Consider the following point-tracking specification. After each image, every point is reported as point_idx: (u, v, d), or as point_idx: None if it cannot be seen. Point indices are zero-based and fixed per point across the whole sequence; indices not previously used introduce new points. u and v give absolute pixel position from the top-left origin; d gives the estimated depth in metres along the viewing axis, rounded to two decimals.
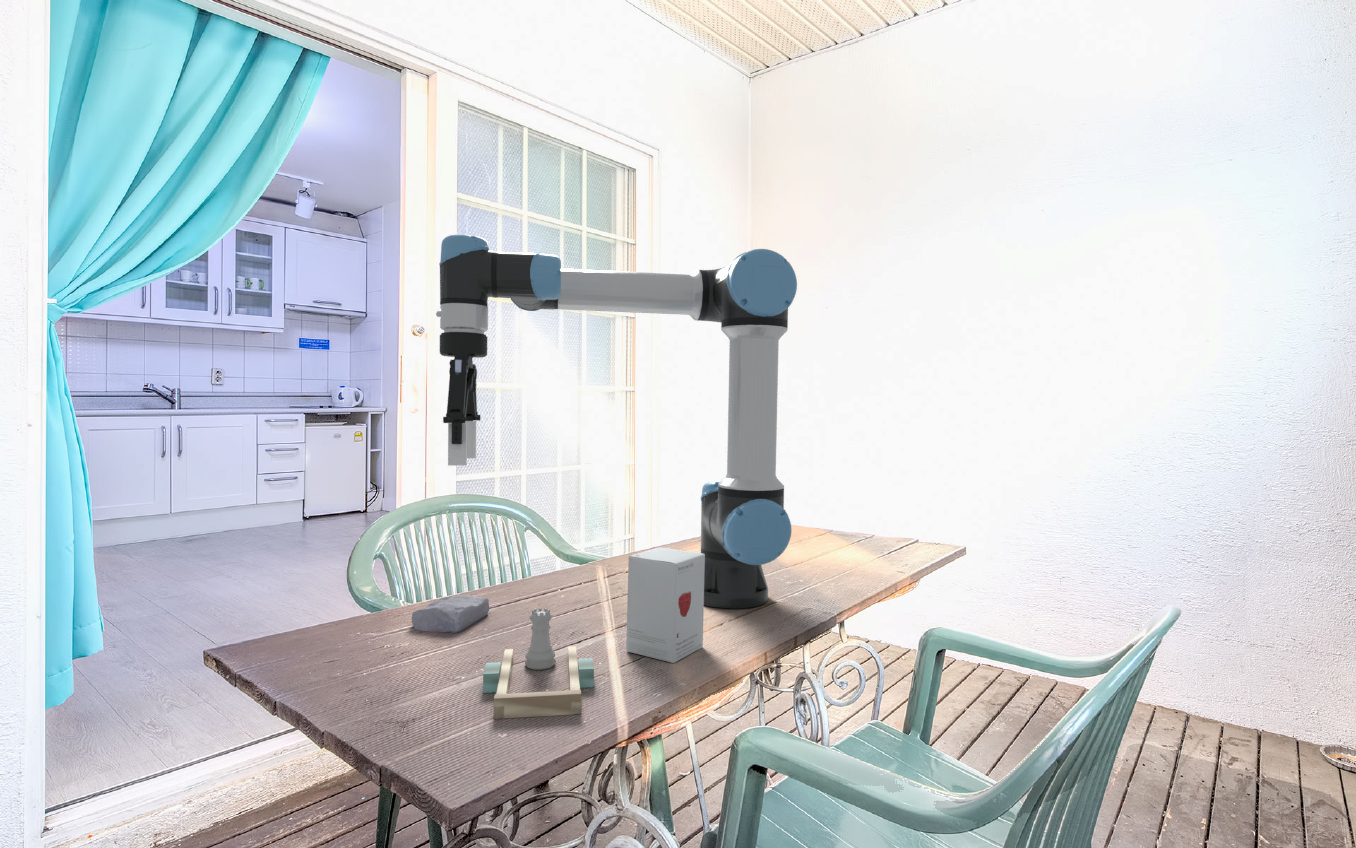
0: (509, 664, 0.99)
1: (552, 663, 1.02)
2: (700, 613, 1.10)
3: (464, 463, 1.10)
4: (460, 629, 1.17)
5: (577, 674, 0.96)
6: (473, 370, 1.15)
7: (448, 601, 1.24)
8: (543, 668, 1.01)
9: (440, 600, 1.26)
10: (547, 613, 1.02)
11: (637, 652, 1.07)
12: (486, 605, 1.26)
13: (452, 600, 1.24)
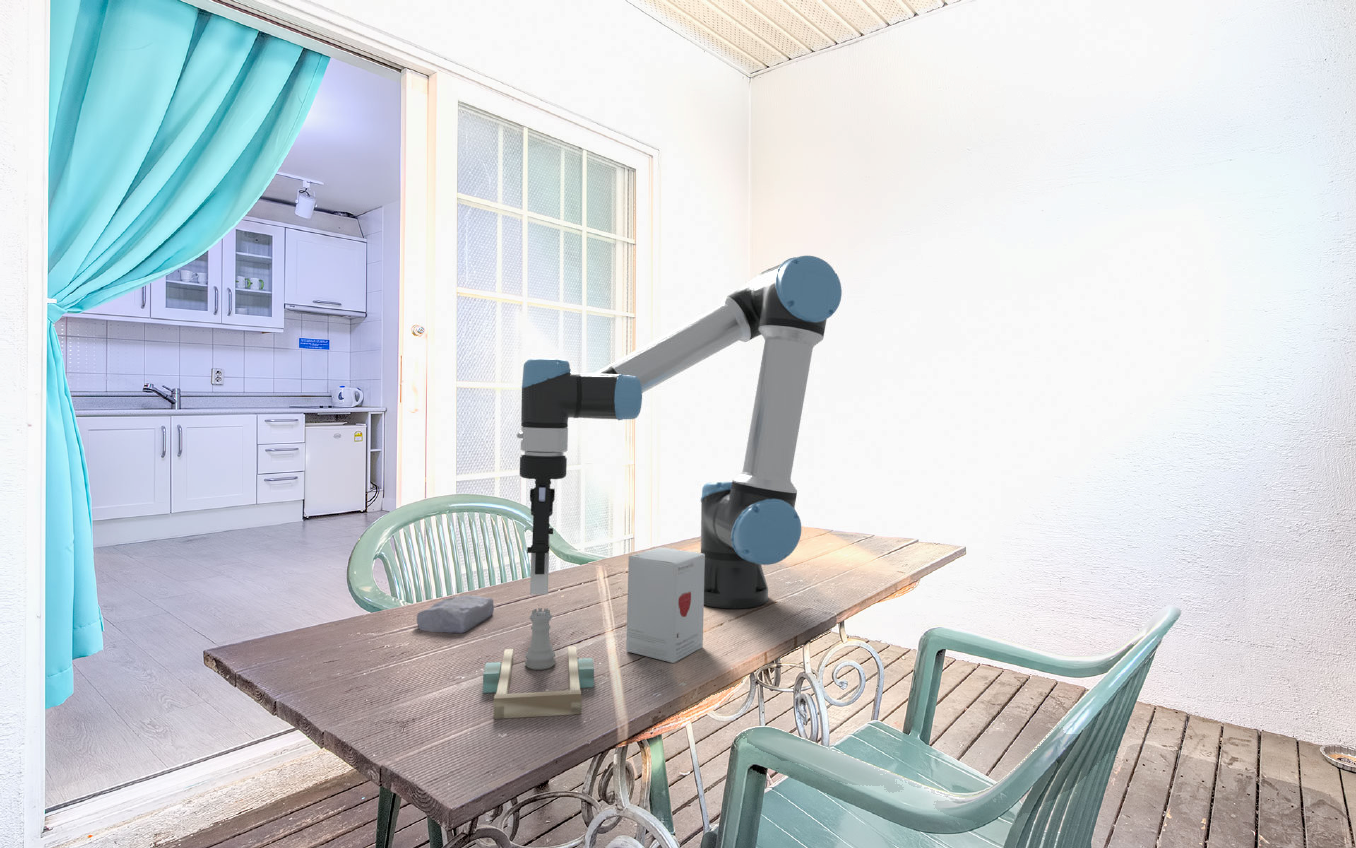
0: (509, 664, 0.99)
1: (552, 663, 1.02)
2: (700, 613, 1.10)
3: (546, 592, 1.09)
4: (465, 630, 1.17)
5: (577, 674, 0.96)
6: (553, 493, 1.14)
7: (453, 601, 1.24)
8: (543, 668, 1.01)
9: (445, 600, 1.26)
10: (547, 613, 1.02)
11: (637, 652, 1.07)
12: (491, 606, 1.25)
13: (457, 601, 1.24)
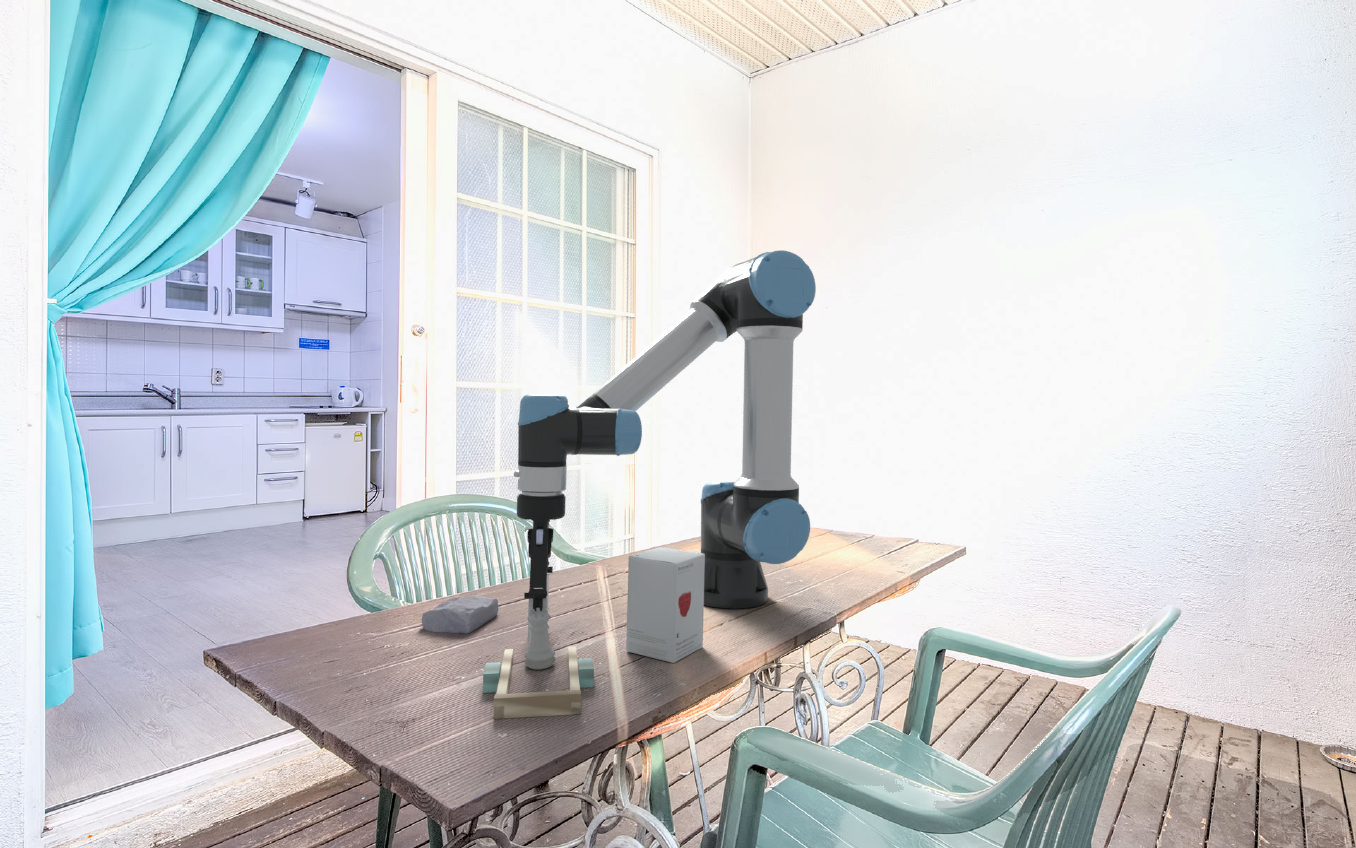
0: (509, 664, 0.99)
1: (552, 662, 1.02)
2: (700, 613, 1.10)
3: None
4: (471, 630, 1.17)
5: (577, 674, 0.96)
6: (552, 534, 1.10)
7: (458, 602, 1.23)
8: (543, 668, 1.01)
9: (449, 601, 1.26)
10: (545, 614, 1.01)
11: (637, 652, 1.07)
12: (495, 606, 1.25)
13: (462, 601, 1.23)
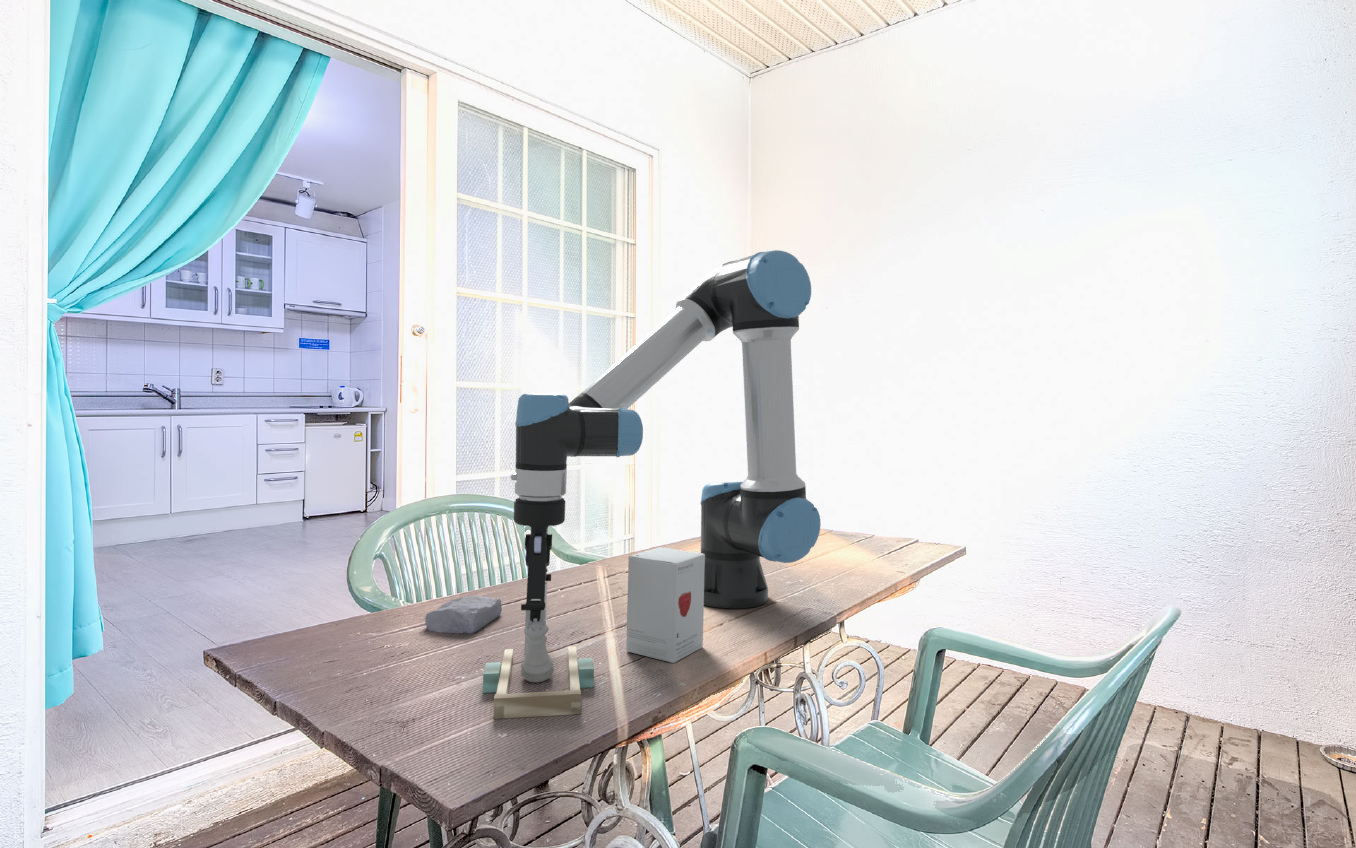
0: (509, 664, 0.99)
1: (550, 674, 0.97)
2: (700, 613, 1.10)
3: None
4: (475, 630, 1.17)
5: (577, 674, 0.96)
6: (550, 541, 1.04)
7: (461, 602, 1.23)
8: (541, 681, 0.96)
9: (452, 601, 1.26)
10: (543, 627, 0.95)
11: (637, 652, 1.07)
12: (499, 606, 1.25)
13: (465, 601, 1.23)
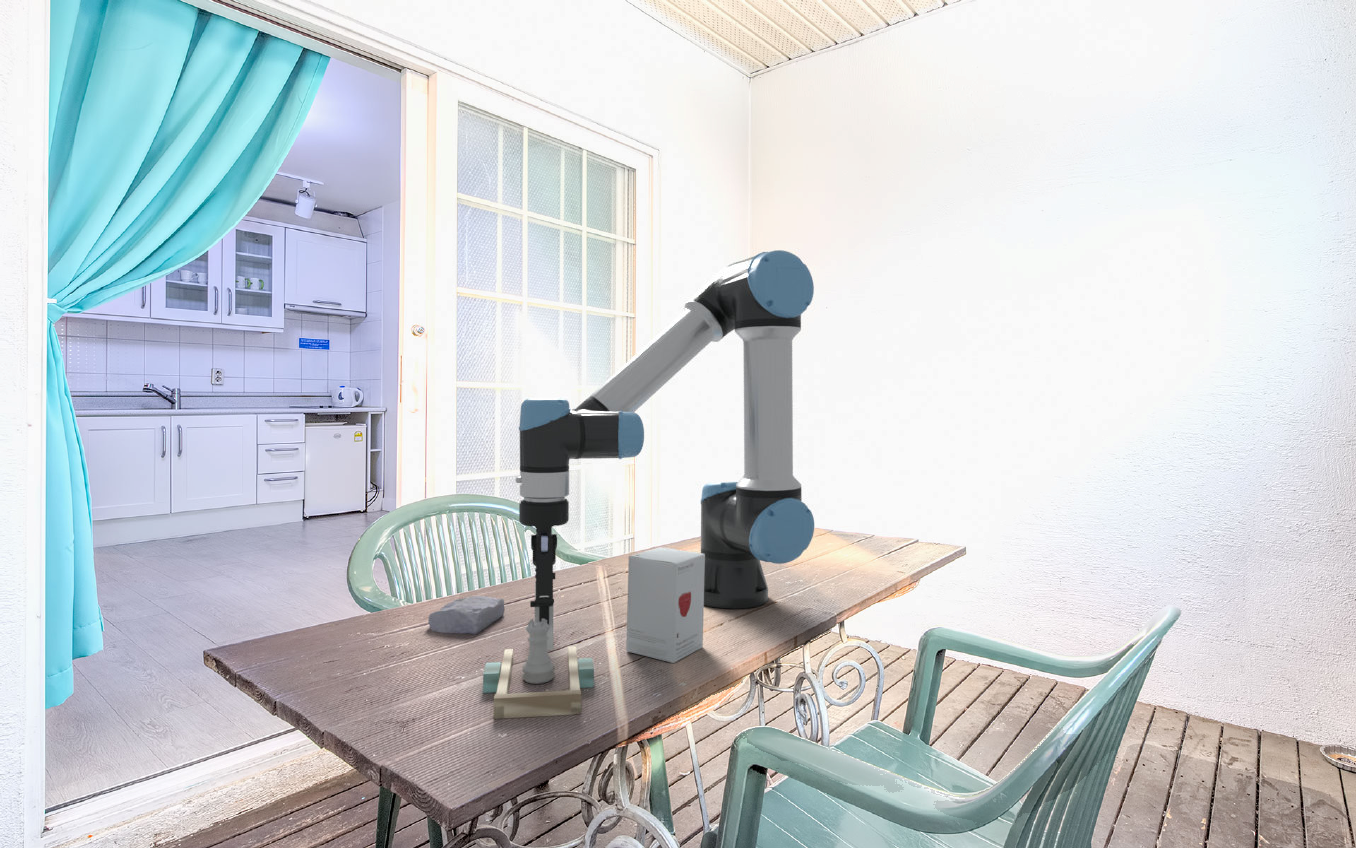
0: (509, 664, 0.99)
1: (551, 676, 0.97)
2: (700, 613, 1.10)
3: (551, 647, 1.04)
4: (478, 630, 1.17)
5: (577, 674, 0.96)
6: (556, 540, 1.08)
7: (464, 602, 1.23)
8: (541, 682, 0.96)
9: (455, 601, 1.26)
10: (544, 624, 0.97)
11: (637, 652, 1.07)
12: (502, 606, 1.25)
13: (468, 602, 1.23)
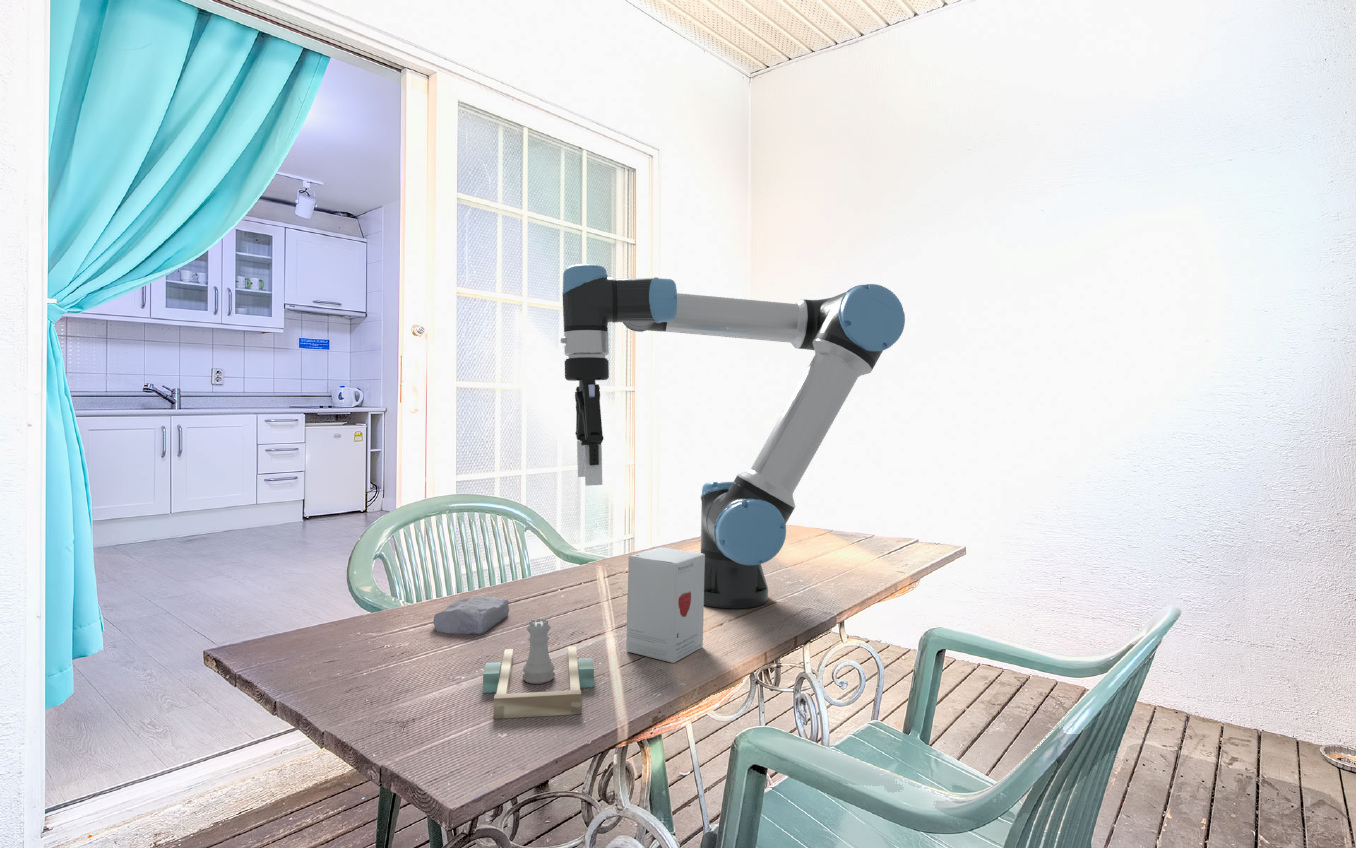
0: (509, 664, 0.99)
1: (551, 677, 0.97)
2: (700, 613, 1.10)
3: (600, 483, 1.16)
4: (483, 631, 1.17)
5: (577, 674, 0.96)
6: (599, 393, 1.21)
7: (468, 603, 1.23)
8: (541, 682, 0.96)
9: (459, 602, 1.25)
10: (545, 624, 0.97)
11: (637, 652, 1.07)
12: (506, 607, 1.25)
13: (473, 602, 1.23)
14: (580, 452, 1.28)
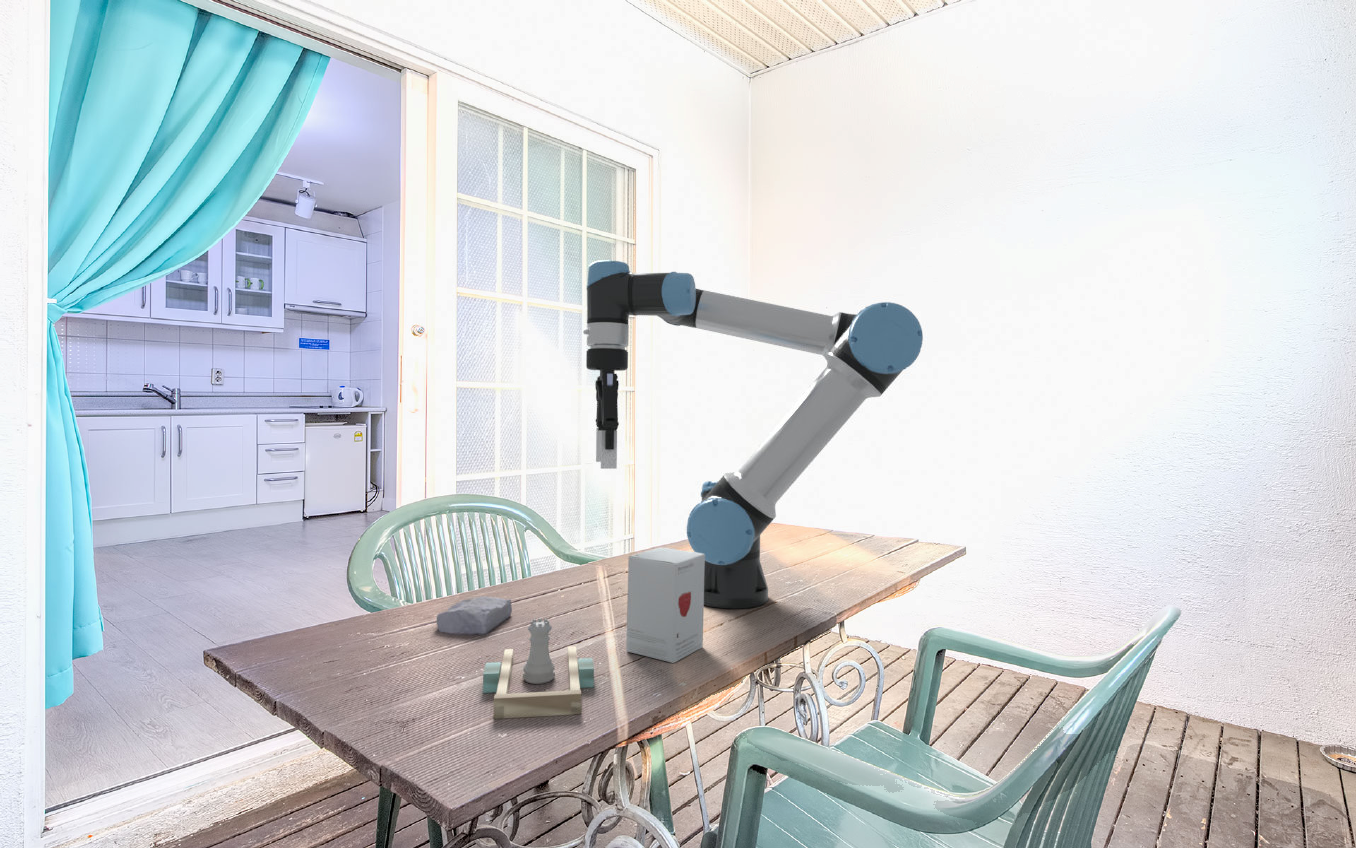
0: (509, 664, 0.99)
1: (551, 677, 0.97)
2: (700, 613, 1.10)
3: (615, 466, 1.23)
4: (487, 631, 1.16)
5: (577, 674, 0.96)
6: (617, 382, 1.27)
7: (471, 603, 1.23)
8: (541, 682, 0.96)
9: (462, 602, 1.25)
10: (546, 624, 0.97)
11: (637, 652, 1.07)
12: (509, 607, 1.25)
13: (476, 602, 1.23)
14: (599, 438, 1.36)
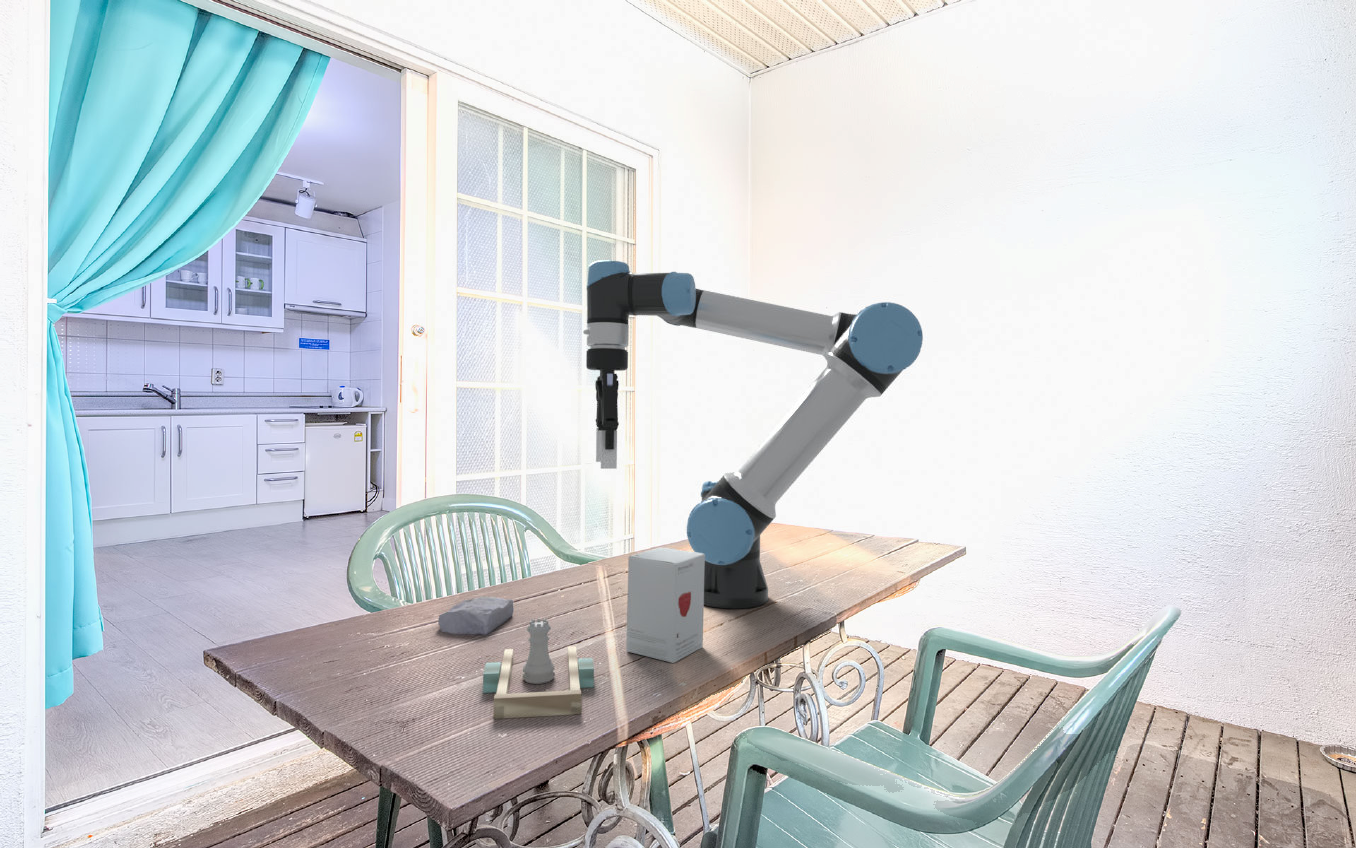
0: (509, 664, 0.99)
1: (550, 677, 0.97)
2: (700, 613, 1.10)
3: (615, 466, 1.23)
4: (489, 631, 1.16)
5: (577, 674, 0.96)
6: (617, 382, 1.27)
7: (473, 603, 1.23)
8: (540, 682, 0.96)
9: (464, 602, 1.25)
10: (545, 624, 0.97)
11: (637, 652, 1.07)
12: (511, 607, 1.25)
13: (477, 602, 1.23)
14: (599, 438, 1.36)
